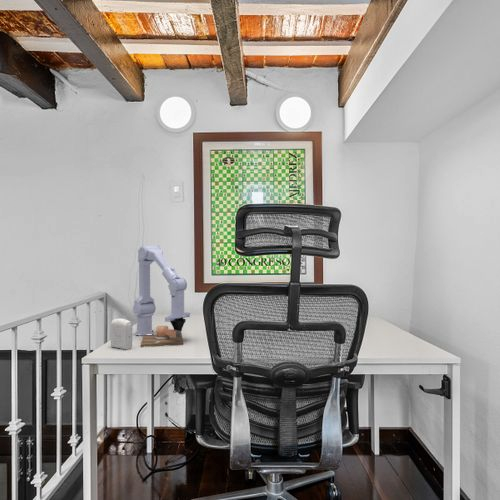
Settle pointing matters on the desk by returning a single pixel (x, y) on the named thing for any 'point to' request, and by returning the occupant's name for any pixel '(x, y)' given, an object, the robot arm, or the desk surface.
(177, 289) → the robot arm
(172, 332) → the wooden tool handle
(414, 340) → the desk surface
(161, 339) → the walnut base
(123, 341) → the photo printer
